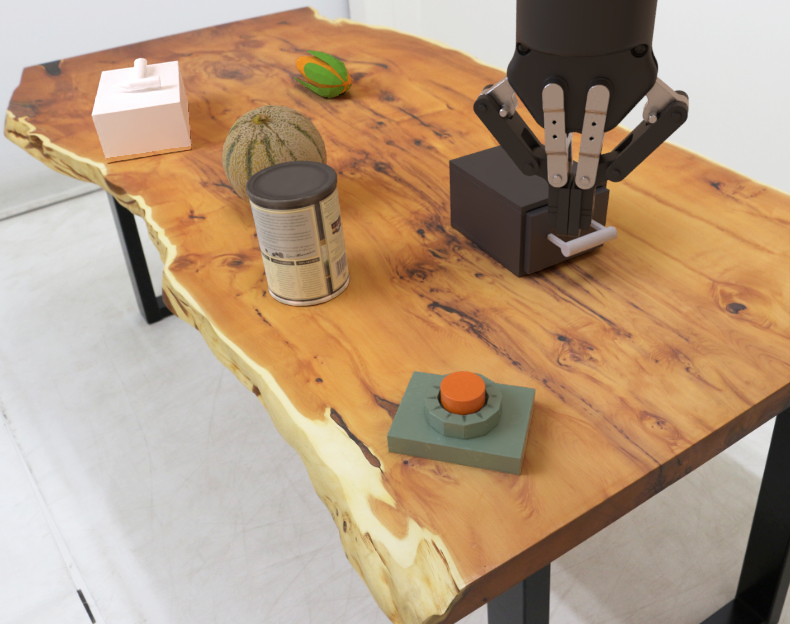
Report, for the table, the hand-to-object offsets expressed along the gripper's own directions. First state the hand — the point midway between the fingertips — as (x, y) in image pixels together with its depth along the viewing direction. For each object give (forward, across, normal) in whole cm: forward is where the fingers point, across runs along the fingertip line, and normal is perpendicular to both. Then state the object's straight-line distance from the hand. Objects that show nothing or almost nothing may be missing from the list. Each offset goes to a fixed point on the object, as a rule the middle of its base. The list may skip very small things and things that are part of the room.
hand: (569, 230), depth 48 cm
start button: (+20, -9, +3) cm, 22 cm away
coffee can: (+24, -34, +22) cm, 47 cm away
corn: (+25, -61, +88) cm, 110 cm away
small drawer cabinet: (+25, -10, +38) cm, 47 cm away
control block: (+24, -9, +2) cm, 26 cm away
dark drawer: (+24, -7, +36) cm, 44 cm away
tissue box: (+24, -85, +62) cm, 108 cm away
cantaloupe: (+24, -46, +40) cm, 66 cm away
